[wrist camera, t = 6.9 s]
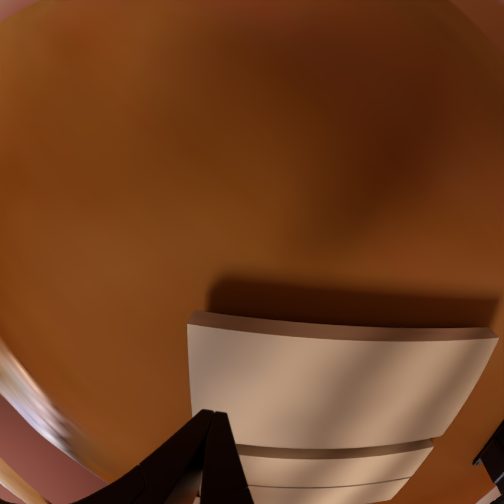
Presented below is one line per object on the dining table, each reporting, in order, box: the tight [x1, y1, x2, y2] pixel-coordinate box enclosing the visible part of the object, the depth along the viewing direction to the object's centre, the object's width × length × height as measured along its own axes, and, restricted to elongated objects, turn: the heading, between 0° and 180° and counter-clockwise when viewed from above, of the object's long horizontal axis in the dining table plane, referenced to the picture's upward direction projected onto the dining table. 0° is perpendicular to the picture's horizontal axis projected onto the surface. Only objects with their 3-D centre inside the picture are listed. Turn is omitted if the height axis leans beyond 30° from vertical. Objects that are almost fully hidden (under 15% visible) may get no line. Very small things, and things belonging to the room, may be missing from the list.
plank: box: [187, 310, 499, 449], centre depth 13 cm, size 16×8×1 cm, turn 85°
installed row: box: [199, 438, 434, 504], centre depth 15 cm, size 16×9×2 cm, turn 85°
